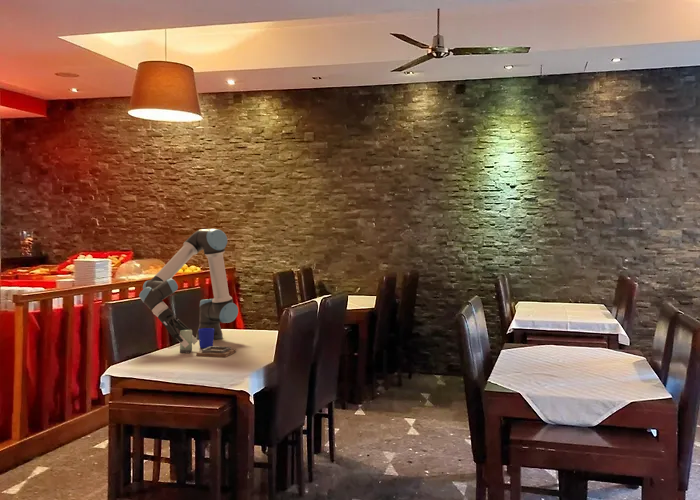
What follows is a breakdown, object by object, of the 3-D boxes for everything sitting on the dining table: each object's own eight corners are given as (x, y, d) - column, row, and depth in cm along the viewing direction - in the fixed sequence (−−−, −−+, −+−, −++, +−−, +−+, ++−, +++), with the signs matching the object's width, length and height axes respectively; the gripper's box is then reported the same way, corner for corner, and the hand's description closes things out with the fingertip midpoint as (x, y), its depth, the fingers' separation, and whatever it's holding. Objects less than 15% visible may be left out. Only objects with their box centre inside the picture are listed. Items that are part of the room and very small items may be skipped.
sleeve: (182, 350, 315) (183, 329, 315) (193, 351, 314) (194, 329, 314) (177, 352, 309) (178, 331, 309) (188, 353, 308) (189, 331, 308)
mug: (218, 345, 332) (218, 327, 332) (211, 349, 320) (211, 330, 320) (203, 345, 333) (203, 326, 333) (196, 348, 321) (196, 330, 321)
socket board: (208, 350, 316) (208, 345, 316) (235, 352, 314) (235, 346, 314) (196, 355, 301) (196, 350, 301) (225, 357, 299) (225, 351, 299)
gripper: (168, 315, 325) (195, 345, 323) (147, 320, 303) (176, 353, 300) (177, 305, 324) (205, 336, 322) (157, 309, 302) (187, 342, 299)
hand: (191, 344), depth 311 cm, fingers open, 10 cm apart
